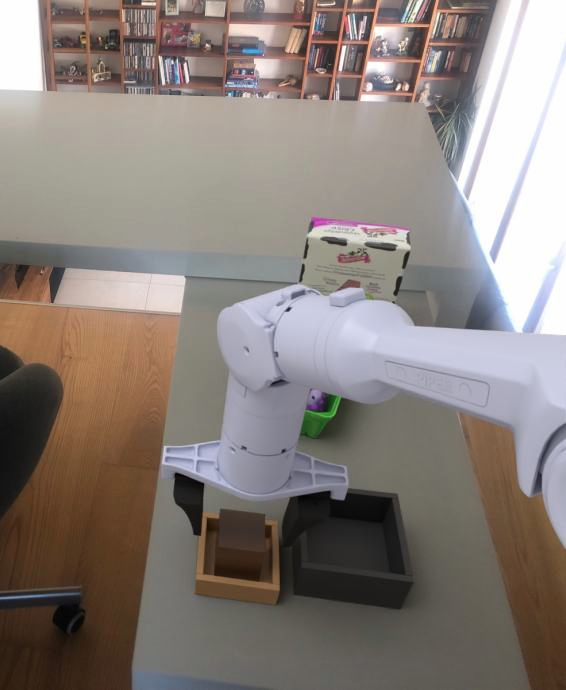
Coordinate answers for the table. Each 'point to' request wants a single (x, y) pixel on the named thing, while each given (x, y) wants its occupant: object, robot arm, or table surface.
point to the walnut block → (239, 545)
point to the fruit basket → (318, 412)
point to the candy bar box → (355, 257)
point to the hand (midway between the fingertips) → (241, 531)
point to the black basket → (355, 552)
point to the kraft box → (231, 587)
